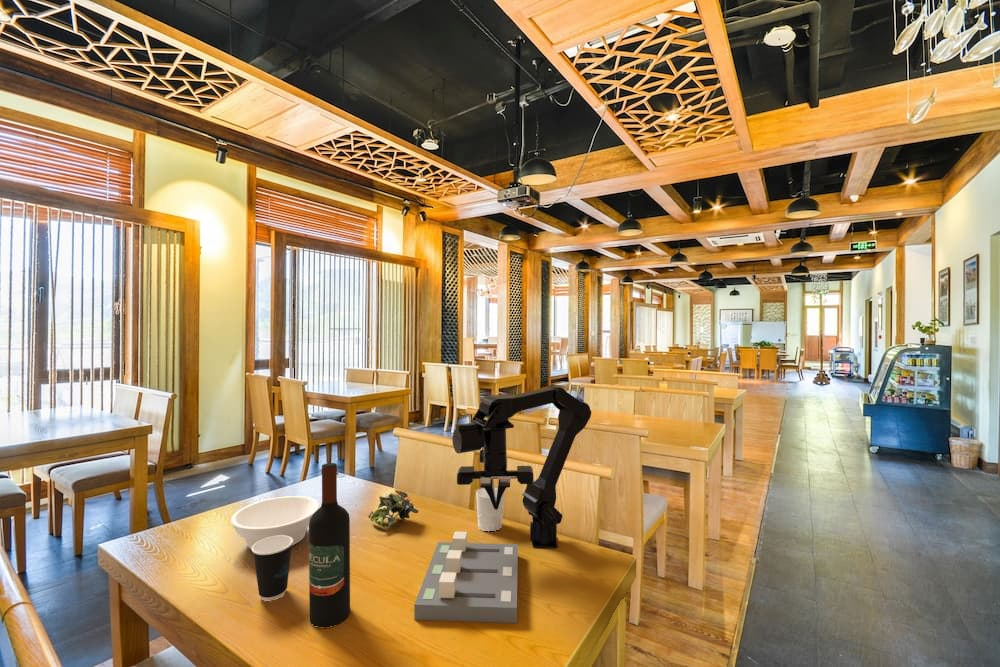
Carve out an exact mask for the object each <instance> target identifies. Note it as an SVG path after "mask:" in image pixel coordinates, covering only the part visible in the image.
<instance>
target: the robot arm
mask: <svg viewBox="0 0 1000 667" xmlns="http://www.w3.org/2000/svg"><path fill="white" fill-rule="evenodd" d="M550 404H552V405H553V406H554V407H555V408H556V409H557V410H558V411H559V412H558V414H557V416H558V417H557V420H558V429H557V431H556V434H555V437H554V439H553V442H552V444H551V446H550V449H549V451H548V454H547V455H546V458H545V460H544V464H543V466H542V469H541V470H540V473H539V475H538V477H537V479H535V480H534V470H533V467H532V466H531V465H517V466H516V469H515V470H512V469H511V470H507V469H508V457H507V429H514V427H515V425H514V424H513V423H512V422H510V420H509V419H510V418H513V417H514V416H515V415H516V414H517V413H519V412H522V411H526V410H530V409H534V408H538V407H542V406H546V405H550ZM591 416H592V410H591V407H590V405H589V404H588V403H587V402H584V401H581V400H579V399H578V397H575V396H573V395H572V394H570V393H569V392H568V391H567V390H566V389H564V388H563V387H561V386H557V385H549V386H547V387H544V388H539V389H536V390H529V391H526V392H522V393H521V392H520V393H518V394H517V393H516V394H513V395H508V394H507V395H505V394H491V395H490V394H488V395H485V396H483V397H482V399H481V401H480V403H479V407H478V409H477V410H476V412H475V414H474V415H473V417H472V418H471V421H470V423H469V422H468V423H456V424H455V429H454V430H453V434H452V435H451V436H452V437H451V438H452V439H451V440H452V447H453V450H454V451H455V453H456V454H465V453H470V452H476V451H479V463H482V464H483V470H476V469H475V466H473V465H469V466H467V465H466V466H460V467H459V468H458V471H457V473H456V484H457V485H459V486H464V485H465V486H466V485H468V486H470V485H471V484H472V483H473V481H474V480H479V481H480V489H482V488H485V490H486V492H487V493H488V495H489V497H490V499H491V502H492V505H493V507H494V509H495V510H498V507H499V504H500V501H501V498H502V495H503V493H504V494H505V491H506V489H507V488H511V480H512V479H517V482H518V483H519V484H520V485H526V487H525V489H524V491H523V493H522V496H523V497H522V504H523V507H524V508H525V510H527V513H528V515H529V516H532V519H531V520H532V521H530V522H529V523H530V524H529V526H530V527H529V531H530V532H529V534H530V535H529V536H530V537H529V540H530V542H531V543H532V544H531V546H532V547H533V548H549V547H555V549H556V547H557V548H558V538H557V534H558V533H557V527H558V525H559V524H561V522H562V519H563V513H561V512H560V511H559V510H558V509H557V508H556V507H555V506H556V501H557V488H556V486H557V483H558V481H559V478H560V475H561V473H562V471H563V468H564V466H565V463H566V461H567V458H568V455H569V453H570V451H571V448H572V446H573V444H574V441H575V439H576V436H577V435H578V434H579V433H580V432H581V431H582V430H584V429H585V428H586V425H587V424H588V423H589V421H590V419H591ZM485 418H486V419H485ZM482 448H483V449H482ZM497 479H498V482H497V488H498V490H497V499H496V498H495V491H494V488H495V485H494V484H495V483H494V480H497Z"/></svg>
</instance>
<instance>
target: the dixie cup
mask: <svg viewBox="0 0 1000 667" xmlns="http://www.w3.org/2000/svg"><path fill="white" fill-rule="evenodd" d="M292 544H293V539H292V538H291V537H290V536H285V535H277V536H271V537H267V538H264V539H262V540H260V541H258V542H256V543H255V544H254V545H253V546H252V549H250V550H251V552H252V553H253V559H254V567H255V569H254V570H255V576H256V582H257V590H258V595H259V596H260V600H261V599H263V600H267V601H268V600H273V599H276V598H279V597H281V596H282V595H283V594H284V593H285V592H287V589H288V583H289V573H290V563H291V557H292V556H291V554H292V547H293V545H292ZM285 594H286V593H285ZM281 598H282V597H281Z"/></svg>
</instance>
